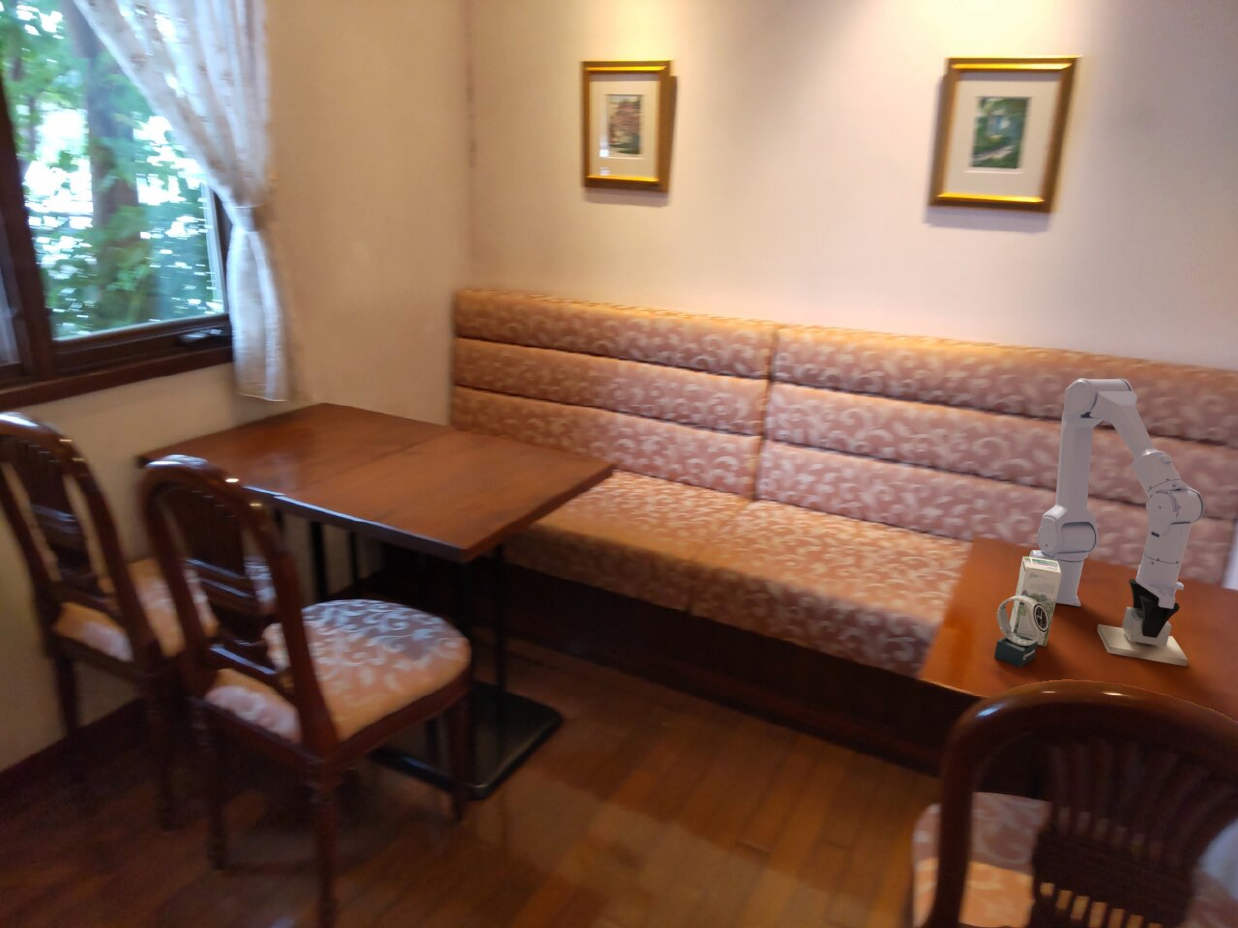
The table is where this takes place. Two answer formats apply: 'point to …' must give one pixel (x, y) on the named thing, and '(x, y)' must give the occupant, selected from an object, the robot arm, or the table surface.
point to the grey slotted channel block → (1134, 628)
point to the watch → (1017, 646)
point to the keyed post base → (1140, 647)
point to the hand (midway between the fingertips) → (1144, 628)
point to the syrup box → (1035, 593)
